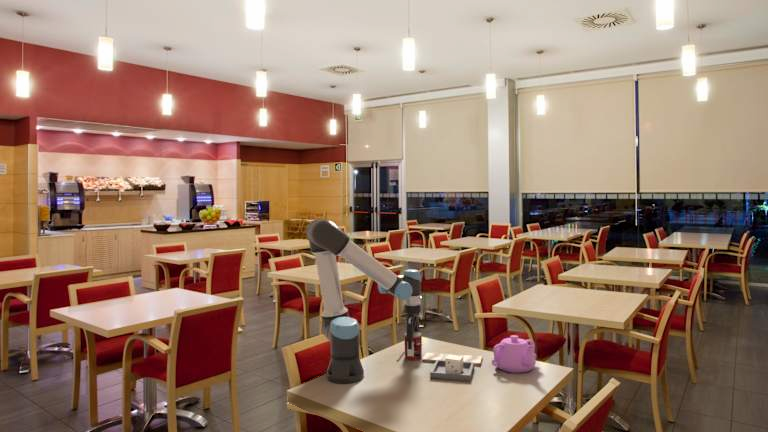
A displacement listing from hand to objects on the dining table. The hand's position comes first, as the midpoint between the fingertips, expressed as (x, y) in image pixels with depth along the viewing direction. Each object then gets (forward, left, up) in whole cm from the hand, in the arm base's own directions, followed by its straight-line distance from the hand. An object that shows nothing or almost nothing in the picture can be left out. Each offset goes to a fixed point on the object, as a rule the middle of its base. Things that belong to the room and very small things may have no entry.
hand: (413, 351), depth 234 cm
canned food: (0, 0, -3) cm, 3 cm away
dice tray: (+20, -16, -3) cm, 26 cm away
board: (+12, 0, -3) cm, 12 cm away
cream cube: (+18, -16, +1) cm, 24 cm away
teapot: (+46, -6, -3) cm, 46 cm away
